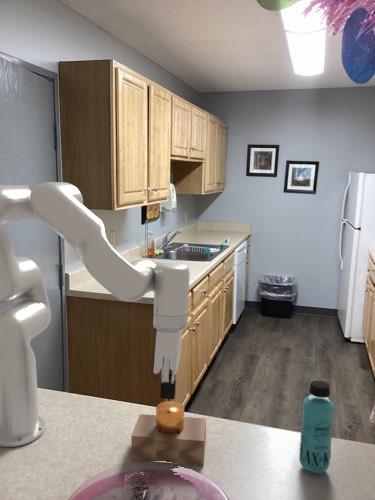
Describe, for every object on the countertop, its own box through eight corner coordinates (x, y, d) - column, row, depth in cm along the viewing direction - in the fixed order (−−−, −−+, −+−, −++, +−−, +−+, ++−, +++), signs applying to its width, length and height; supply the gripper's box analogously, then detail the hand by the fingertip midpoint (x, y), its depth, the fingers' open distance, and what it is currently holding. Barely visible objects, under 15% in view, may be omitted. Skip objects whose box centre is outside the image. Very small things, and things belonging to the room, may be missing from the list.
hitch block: (131, 460, 95) (131, 435, 94) (139, 437, 104) (139, 414, 103) (203, 466, 94) (204, 440, 93) (205, 441, 103) (206, 418, 102)
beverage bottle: (292, 464, 95) (297, 379, 92) (316, 457, 97) (321, 374, 94) (311, 483, 89) (317, 393, 86) (336, 475, 91) (343, 387, 88)
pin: (153, 456, 96) (153, 414, 94) (158, 439, 102) (158, 400, 101) (182, 458, 95) (182, 416, 94) (184, 441, 102) (185, 402, 100)
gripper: (159, 308, 102) (156, 380, 105) (147, 329, 87) (145, 413, 90) (190, 310, 101) (187, 383, 104) (184, 332, 86) (180, 416, 89)
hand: (167, 397), depth 97 cm, fingers closed
